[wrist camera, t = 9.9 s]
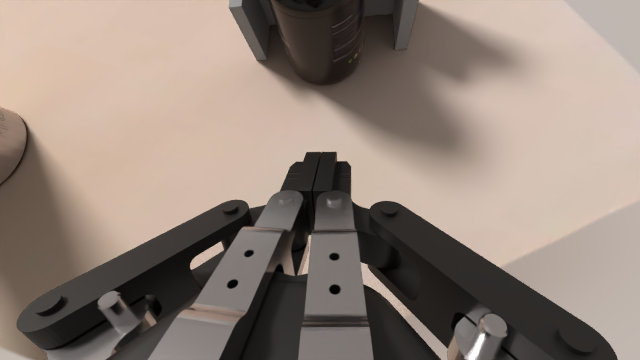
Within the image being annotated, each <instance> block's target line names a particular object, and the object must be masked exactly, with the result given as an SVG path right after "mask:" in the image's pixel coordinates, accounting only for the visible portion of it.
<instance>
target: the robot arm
mask: <svg viewBox="0 0 640 360" xmlns="http://www.w3.org/2000/svg"><path fill="white" fill-rule="evenodd" d="M25 145H26V128H25V125H24V123H23V121H22V119H21V118H20V117H19V116H18V115H17V114H15V113H14V112H12V111H9V110H7V109H4V108H2V107H0V184H1V183H2V182H3V181H4V180H5V179H6V178H7V177H8V176H9V175H10V174H11V173H12V172H13V170H14V169H15V168H16V166H17V164H18V163H19V161H20V159H21V157H22V155H23V152H24V149H25ZM309 235H311V245H310V257H309V268H308V274H303V275H302V271H303V268H304V264H305V261H306V258H307V254H308V251H309V242H308V237H309ZM220 241H221V242H222V245H223V248H224V251H222V252H221V253H219V254H217V255H216V256H214V257H213V258H211V259H209V260H208V261H206V262H205V263H203V264H201V265H200V266H198V267H197V268H195V269H193V270H191V269H190V263H191V261H192V259H193V258H194V257H195V256H197V255H199V254H200V253H202V252H204V251H205V250H207V249H209V248H210V247H212V246H214V245H215V244H217V243H219V242H220ZM360 262H362V263H365V264H368V268H369V270H370V271H371V272H372V273H373V274H374V275H375V276H376V277H377V278H378V279H379V280H380V281H381V282H382V283H383V284H384V285H385V286H386V287H387V288H388V289H389V290H390V291H391V292H392V293H393V294H394V295H395V296H396V297H397V298H398V299H399V300H400V301H401V302H402V303H403V304H404V305H405V306H406V307H407V308H408V309H409V310H410V311H411V312H412V313H413V314H414V315H415V316H416V317H417V318H418V319H419V320H420V321H421V322H422V323H423V324H424V325H425V326H426V327H427V328H428V329H429V330H430V331H431V332H432V333H433V334H434V335H435V336H436V337H437V338H438V339H439V340H440V341H441V342H442V343H443V344H444V345H445V346H446V347H447V348H448V351H447V358H448V360H618V359H617V356H616V354H615V352H614V350H613V349H612V347H611V346H610V344H609V343H608V342H607V341H606V340H605V339H604V337H602V336H601V335H600V334H599V333H598V332H597V331H596V330H595V329H593V328H592V327H590V326H589V325H588V324H586V323H585V322H583V321H581V320H580V319H578V318H577V317H575V316H573V315H572V314H571V313H569V312H567V311H566V310H564V309H563V308H561V307H560V306H558V305H556V304H555V303H553V302H552V301H550V300H549V299H547V298H546V297H544V296H543V295H541V294H539V293H538V292H536V291H534V290H533V289H532V288H530V287H528V286H527V285H525V284H524V283H522V282H521V281H519V280H517V279H516V278H514V277H513V276H511V275H510V274H508V273H506V272H505V271H504V270H502V269H500V268H499V267H497V266H496V265H494V264H493V263H491V262H490V261H488V260H486V259H485V258H483V257H482V256H480V255H479V254H477V253H476V252H474V251H472V250H471V249H469V248H468V247H466V246H465V245H463V244H462V243H460V242H458V241H457V240H455V239H454V238H452V237H451V236H449V235H448V234H446V233H444V232H443V231H441V230H440V229H438V228H437V227H435V226H434V225H432V224H430V223H429V222H427V221H426V220H424V219H423V218H421V217H420V216H418V215H416V214H415V213H413V212H412V211H410V210H409V209H407V208H406V207H404V206H402V205H401V204H399V203H396V202H391V201H381V202H378V203H375V204H373V205H372V206H371V208H370V209H367V208H363V207H360V206H358V205H356V204H355V203H354V202H353V201H352V199H351V166H350V165H349V163H348V162H347V161H337V152H322V153H321V152H307V153H306V155H305V158H304V161H303V162H295V163H294V164H293V165H292V166H291V167H290V169H289V171H288V174H287V176H286V178H285V180H284V183H283V185H282V188H281V190H280V192H278V193H276V194H274V195H273V196H272V197H271V198H270V200H269V201H268V203H267V205H264V206H260V207H255V208H250V209H249V206H248V204H247V203H246V202H245V201H242V200H231V201H227V202H224V203H222V204H220V205H218V206H216V207H214V208H212V209H210V210H208V211H206V212H204V213H202V214H200V215H199V216H197V217H195V218H193V219H191V220H189V221H187V222H185V223H183V224H181V225H179V226H177V227H175V228H173V229H171V230H169V231H167V232H165V233H163V234H161V235H159V236H157V237H155V238H153V239H151V240H149V241H147V242H145V243H144V244H142V245H140V246H138V247H136V248H134V249H132V250H130V251H128V252H126V253H124V254H122V255H120V256H118V257H116V258H114V259H112V260H110V261H108V262H106V263H104V264H102V265H100V266H98V267H96V268H94V269H92V270H90V271H89V272H87V273H85V274H83V275H81V276H79V277H77V278H75V279H73V280H71V281H69V282H67V283H65V284H63V285H61V286H59V287H57V288H55V289H53V290H51V291H49V292H47V293H46V294H44V295H42V296H41V297H39V298H38V299H36V300H35V301H34V302H32V303H31V304H30V305H29V306H28V307H27V308H26V309H25V310H24V311H23V312H22V313H21V315H20V316H19V318H18V320H17V328H18V329H19V330H20V331H21V332H22V333H23V334H24V335H26V336H27V337H28V338H29V339H30V340H31V341H32V342H34V343H35V344H36V345H37V346H38V347H39V348H40V349H42V350H43V351H44V352H45V353H46V354H47V357H48V360H441V359H440V358H439V357H438V356H437V355H436V354H435V352H434V351H433V350H432V349H431V348H430V347H429V346H428V345H427V343H426V342H425V341H424V340H423V339H422V338H421V337H420V336H419V335H418V333H416V331H415V330H414V329H413V328H412V327H411V326H410V325H409V324H408V322H407V321H406V320H405V319H404V318H403V317H402V316H401V314H400V313H399V312H398V311H397V310H396V309H395V308H394V307H393V305H392V304H391V303H390V302H389V301H388V300H387V299H386V298H384V297H383V296H382V295H381V294H380V293H378V292H377V291H375V290H374V289H372V288H370V287H368V286H366V285H364V284H363V280H362V271H361V263H360Z"/></svg>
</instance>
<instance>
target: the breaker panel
mask: <svg viewBox="0 0 640 360" xmlns="http://www.w3.org/2000/svg"><path fill="white" fill-rule="evenodd" d="M418 1H419V0H365V13H364V16H374V15H385V14H393V27H394V44H395V50H402V49H406V48H407V44H408V41H409V37H410V33H411V29H412V25H413V21H414V17H415V13H416V9H417V5H418ZM229 9H230V11H231V13H232V15H233V16H234V18H235V20H236V22H237V24H238V26H239V28H240V30H241V32H242V33H243V35H244V37H245V39H246V41H247V43H248V45H249V47H250V49H251V50H252V52H253V54H254V56H255V58H256V60H257V61H258V60H267V51H268V37H269V25H276V22H275V19H274V16H273V13H272V11H271V8H270V5H269V2H268V0H230V1H229Z"/></svg>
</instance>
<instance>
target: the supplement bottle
mask: <svg viewBox="0 0 640 360" xmlns="http://www.w3.org/2000/svg"><path fill="white" fill-rule="evenodd" d="M268 2H269V5H270V8H271V11H272V13H273V16H274V19H275V22H276V25H277V27H278V30H279V33H280V36H281V39H282V41H283V44H284V47H285V50H286V53H287V56H288V58H289V61H290V63H291V66H292V68H293V69H294V71H295V72H296V73H297V74H298V75H299V76H300V77H301V78H302V79H304V80H305V81H308V82H310V83H313V84H318V85H328V84H333V83H337V82H339V81H341V80H343V79H345V78H346V77H348V76H349V75H350V74H351V73H352V72H353V71H354V70H355V69H356V67H357V66H358V64H359V62H360V59H361V56H362V50H363V35H364V13H365V0H268Z"/></svg>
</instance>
